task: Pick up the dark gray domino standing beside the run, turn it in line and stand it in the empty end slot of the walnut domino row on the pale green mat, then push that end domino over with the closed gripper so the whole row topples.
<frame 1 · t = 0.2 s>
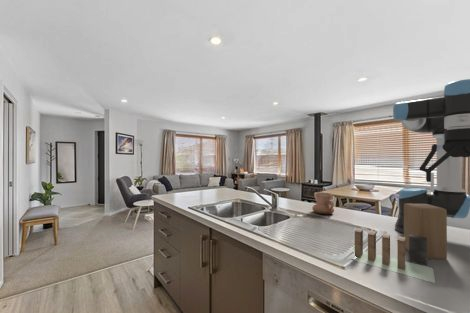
hand: (460, 194, 69), 28 cm above the worktop, fingers open, 13 cm apart
dark gray domino: (417, 263, 79), on the worktop
domino end: (358, 255, 85), resting on mat
domino b: (371, 258, 82), resting on mat
ceramic jug: (323, 213, 152), on the worktop
domino c: (386, 262, 79), resting on mat
mat: (386, 263, 79), on the worktop
block: (424, 254, 87), on the worktop
domino d: (401, 266, 76), resting on mat
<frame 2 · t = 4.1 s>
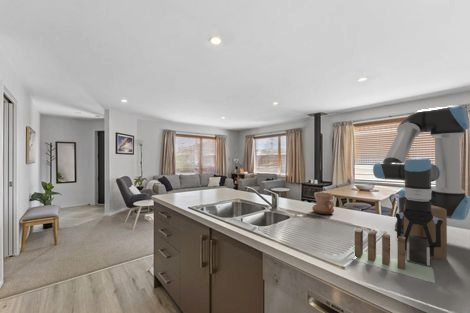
hand: (417, 261, 79), 1 cm above the worktop, fingers closed on dark gray domino, 5 cm apart
dark gray domino: (417, 263, 79), on the worktop, touching gripper
everything else where it was.
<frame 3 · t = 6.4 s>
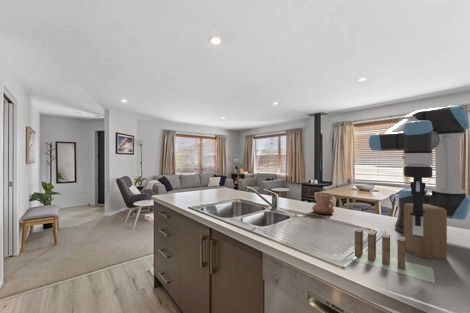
hand: (417, 232, 73), 14 cm above the worktop, fingers closed on dark gray domino, 5 cm apart
dark gray domino: (417, 235, 73), point 13 cm above the worktop, touching gripper
everything else where it was.
when the fingers open (2 cm above the worktop, at t = 8.6 s): dark gray domino stays where it is, resting on mat.
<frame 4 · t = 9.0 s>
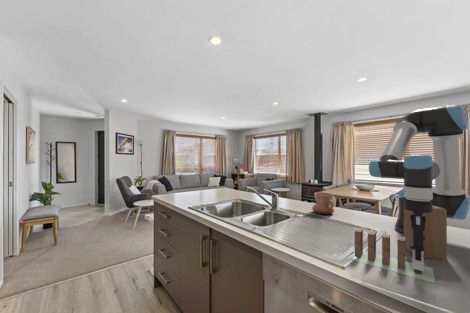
hand: (418, 263, 73), 3 cm above the worktop, fingers open, 10 cm apart
dark gray domino: (417, 270, 73), resting on mat
everything else where it was.
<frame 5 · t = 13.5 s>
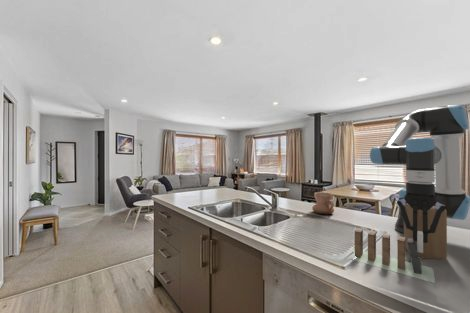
hand: (420, 251, 73), 7 cm above the worktop, fingers closed
dark gray domino: (417, 270, 73), point 1 cm above the worktop, tilted 10°, touching gripper, mat
everything else where it was.
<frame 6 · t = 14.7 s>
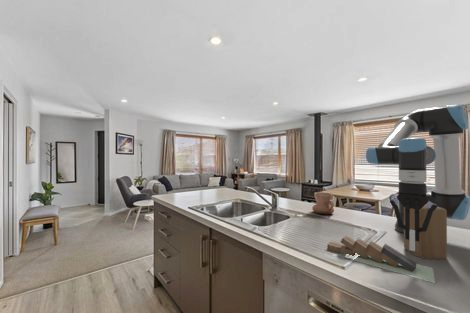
hand: (412, 249, 74), 7 cm above the worktop, fingers closed
dark gray domino: (414, 267, 74), point 1 cm above the worktop, tilted 64°, touching domino d, mat
domino end: (355, 251, 86), point 1 cm above the worktop, tilted 90°, touching domino b, mat
domino b: (368, 255, 83), point 1 cm above the worktop, tilted 64°, touching domino c, domino end
domino c: (382, 259, 80), point 1 cm above the worktop, tilted 64°, touching domino b, domino d, mat
domino d: (397, 262, 77), point 1 cm above the worktop, tilted 64°, touching domino c, dark gray domino
everything else where it was.
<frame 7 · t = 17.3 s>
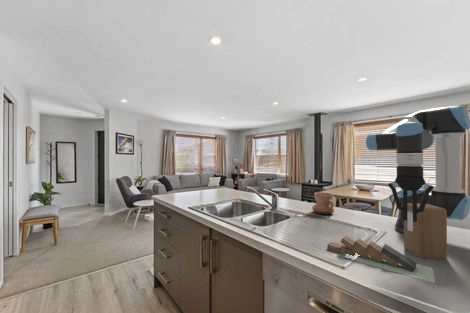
hand: (410, 229, 77), 13 cm above the worktop, fingers closed
nothing on the worktop moved.
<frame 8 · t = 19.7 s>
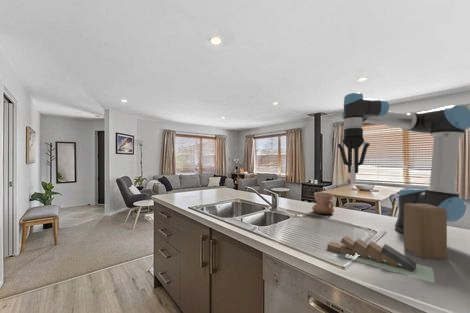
hand: (353, 180, 95), 29 cm above the worktop, fingers closed
nothing on the worktop moved.
at the end: domino end tilted 90°; dark gray domino tilted 64° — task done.
